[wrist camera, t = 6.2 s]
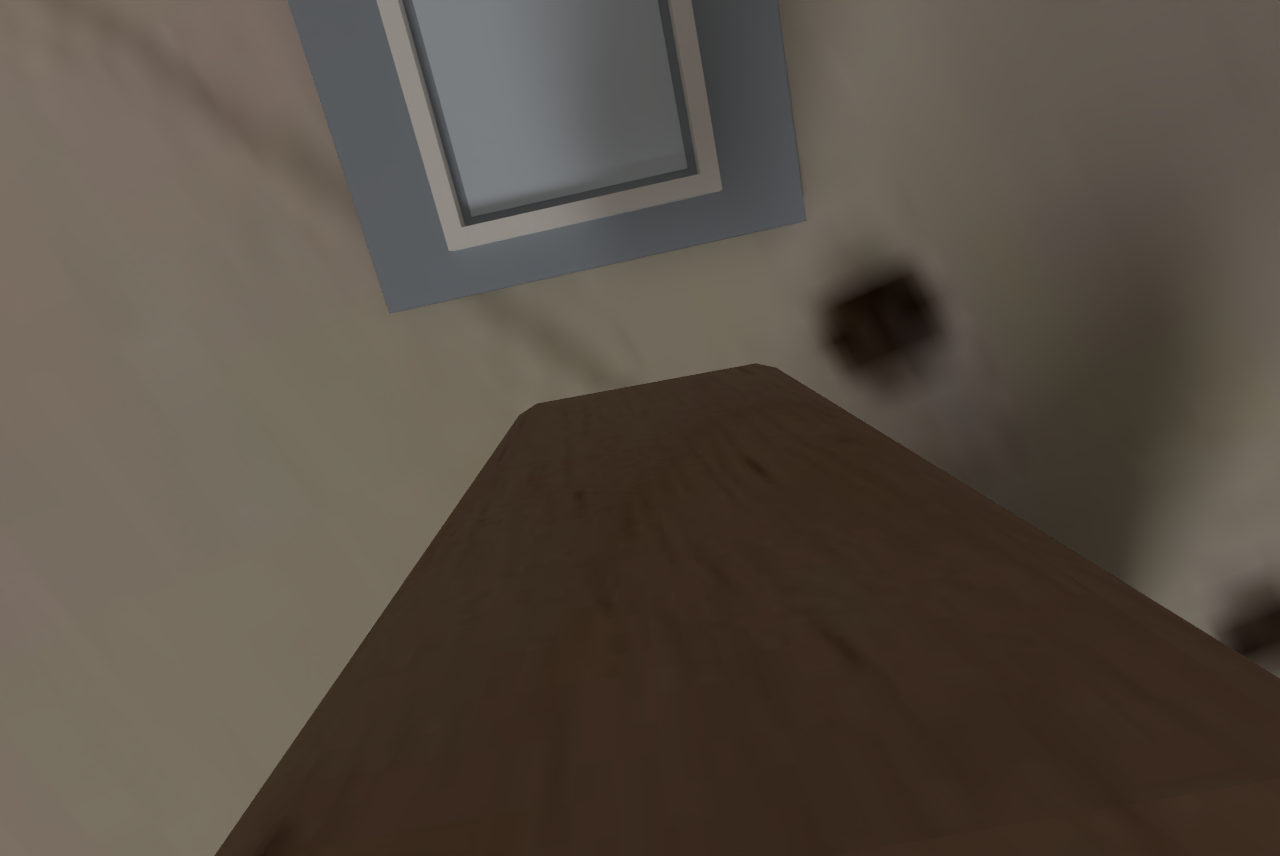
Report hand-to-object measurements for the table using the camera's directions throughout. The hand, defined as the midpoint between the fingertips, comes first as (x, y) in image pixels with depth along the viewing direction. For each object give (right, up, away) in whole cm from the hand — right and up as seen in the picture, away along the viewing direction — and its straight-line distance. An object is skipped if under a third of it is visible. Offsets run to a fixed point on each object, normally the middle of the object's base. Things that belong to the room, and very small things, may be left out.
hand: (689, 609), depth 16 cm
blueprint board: (-6, +24, +16) cm, 29 cm away
